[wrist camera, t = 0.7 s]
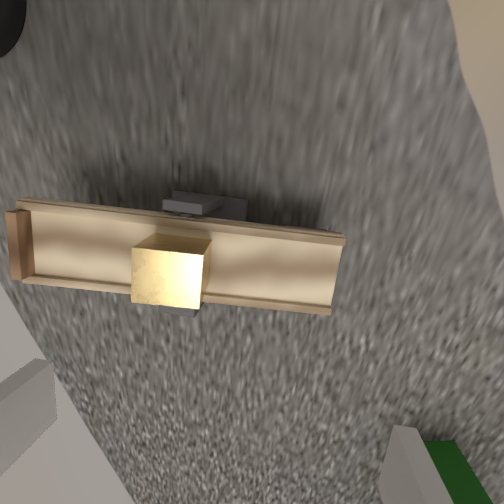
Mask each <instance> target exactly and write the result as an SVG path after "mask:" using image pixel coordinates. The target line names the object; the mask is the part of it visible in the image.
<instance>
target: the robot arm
mask: <svg viewBox="0 0 504 504" xmlns="http://www.w3.org/2000/svg"><path fill="white" fill-rule="evenodd" d="M25 9H26V2H25V0H0V57H2V56H3V55H5V54H6V53H7V52H8V51H9V50H10V49H11V48H12V47H13V46H14V44H15V43H16V41H17V39H18V38H19V35H20V33H21V30H22V27H23V24H24V19H25ZM54 384H55V383H54V369H53V362H52V361H47V360H41V359H34V360H32V361H31V362H29V363H28V364H27V365H26V366H24V367H22V368H21V369H19V370H18V371H17V372H15V373H14V374H12V375H11V376H9V377H8V378H7V379H5V380H4V381H2V382H1V383H0V477H1V476H2V474H3V473H5V471H6V470H7V469H8V468H9V467H10V466H11V465H12V464H13V463H14V462H15V461H16V460H17V459H18V458H19V457H20V456H21V455H22V454H23V453H24V452H25V451H26V450H27V449H28V448H29V447H30V446H31V445H32V444H33V443H34V442H35V441H36V440H37V439H38V438H39V437H40V436H41V435H42V434H43V432H45V430H46V429H48V428H49V427H50V426H51V425H52V424H53V422H54V421H55V420H56V419H57V414H56V398H55V385H54ZM378 488H379V492H380V495H381V499H382V503H383V504H454V503H453V501H452V499H451V497H450V495H449V493H448V491H447V489H446V487H445V485H444V483H443V481H442V479H441V477H440V475H439V473H438V471H437V469H436V467H435V465H434V463H433V461H432V459H431V457H430V455H429V453H428V451H427V449H426V447H425V445H424V443H423V441H422V439H421V437H420V435H419V433H418V431H417V429H416V428H411V427H405V426H400V425H394V426H393V429H392V433H391V437H390V440H389V444H388V448H387V451H386V455H385V459H384V462H383V466H382V470H381V473H380V477H379V481H378Z"/></svg>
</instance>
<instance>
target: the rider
mask: <svg viewBox="0 0 504 504" xmlns="http://www.w3.org/2000/svg"><path fill="white" fill-rule="evenodd" d="M211 248H212V240H210V239H202V238H193V237H184V236H175V235H166V234H157V233H154V234H152V235H150V236H149V237H147V238H146V239H144V240H143V241H141V242H139V243H138V244H136V245H135V246H133V247H132V264H131V302H135V303H144V304H154V305H163V306H173V307H182V308H192V309H199V308H200V306H201V303H202V300H203V298H204V295H205V292H206V290H207V287H208V284H209V272H210V260H211Z"/></svg>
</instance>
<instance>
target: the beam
mask: <svg viewBox="0 0 504 504" xmlns="http://www.w3.org/2000/svg"><path fill="white" fill-rule="evenodd" d="M15 203H16V209H19V210H13V211H7V212H5V219H6V229H7V239H8V250H9V260H10V270H11V279H14V280H22V283H30V284H40V285H49V286H59V287H68V288H77V289H87V290H96V291H106V292H115V293H124V294H131V264H132V247H133V246H135V245H136V244H138V243H139V242H141V241H143V240H144V239H146V238H147V237H149V236H150V235H152V234H154V233H157V234H166V235H175V236H184V237H193V238H202V239H210V240H212V248H211V260H210V272H209V284H208V287H207V290H206V292H205V295H204V298H203V300H202V302H209V303H218V304H228V305H237V306H246V307H256V308H265V309H274V310H284V311H293V312H303V313H312V314H321V315H331V310H332V308H331V307H330V306H331V301H332V296H333V291H334V286H335V281H336V276H337V271H338V266H339V261H340V256H341V251H342V246H345V241H346V239H345V238H344V235H343V234H341V233H338V232H330V231H327V230H324V229H315V228H306V227H298V226H289V225H285V226H278V225H269V224H261V223H252V222H243V221H235V220H226V219H217V218H209V217H200V216H193V215H194V214H192V213H184V212H180V214H174V213H165V212H157V211H148V210H139V209H131V208H122V207H113V206H105V205H96V204H87V203H79V202H70V201H62V200H53V199H44V198H36V197H27V198H20V200H18V201H15Z"/></svg>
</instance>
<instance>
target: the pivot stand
mask: <svg viewBox="0 0 504 504" xmlns="http://www.w3.org/2000/svg"><path fill="white" fill-rule="evenodd" d="M247 208H248V200H247V199H239V198H232V197H224V196H216V195H209V194H201V193H193V192H186V191H178V190H175V191H172V198H168V199H163V209H162V210H170V211H171V213H174V214H180V212H184V213H192V214H194V215H193V216H200V217H209V218H217V219H226V220H235V221H243V222H246V217H247ZM203 304H204V302H202V303H201V306H200V308H201V307H202V305H203ZM200 308H199V309H192V308H182V307H173V306H163V305H159V311H158V312H163V313H169V314H175V315H181V316H187V317H193V318H194V317H195V315H196V314H197V313H198V311H199V310H200Z"/></svg>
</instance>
